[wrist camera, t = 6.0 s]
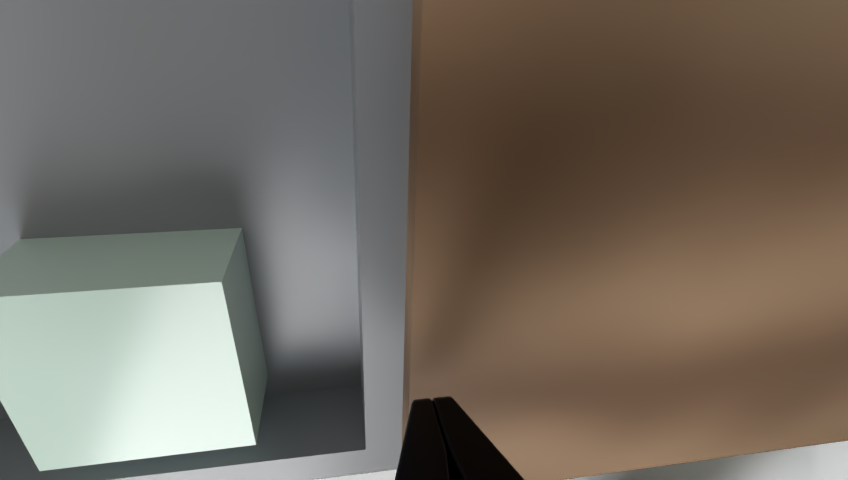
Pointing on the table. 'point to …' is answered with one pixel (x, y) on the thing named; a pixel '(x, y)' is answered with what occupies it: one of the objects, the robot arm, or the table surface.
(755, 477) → the table surface
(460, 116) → the tan bevelled block
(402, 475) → the robot arm
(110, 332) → the tile
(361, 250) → the box
